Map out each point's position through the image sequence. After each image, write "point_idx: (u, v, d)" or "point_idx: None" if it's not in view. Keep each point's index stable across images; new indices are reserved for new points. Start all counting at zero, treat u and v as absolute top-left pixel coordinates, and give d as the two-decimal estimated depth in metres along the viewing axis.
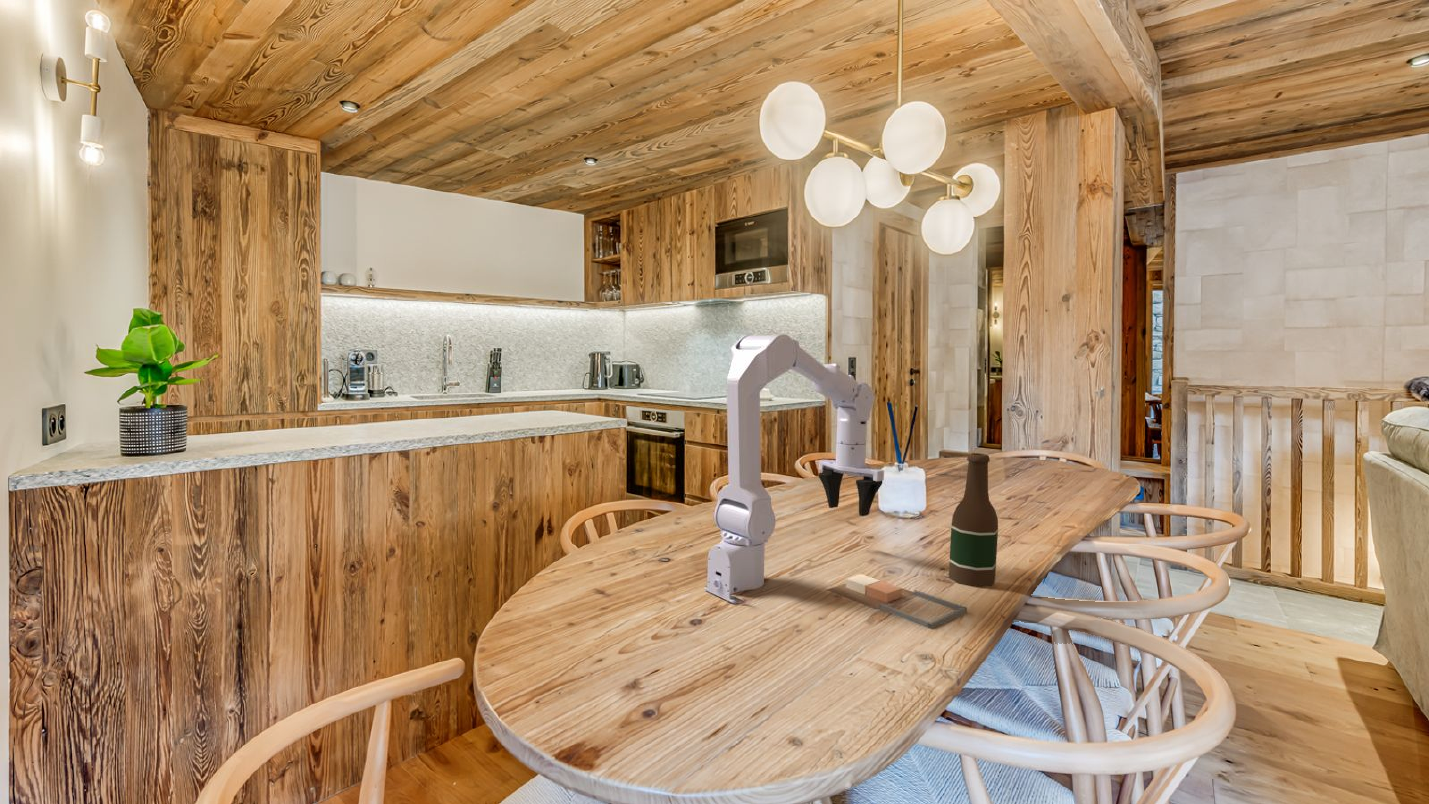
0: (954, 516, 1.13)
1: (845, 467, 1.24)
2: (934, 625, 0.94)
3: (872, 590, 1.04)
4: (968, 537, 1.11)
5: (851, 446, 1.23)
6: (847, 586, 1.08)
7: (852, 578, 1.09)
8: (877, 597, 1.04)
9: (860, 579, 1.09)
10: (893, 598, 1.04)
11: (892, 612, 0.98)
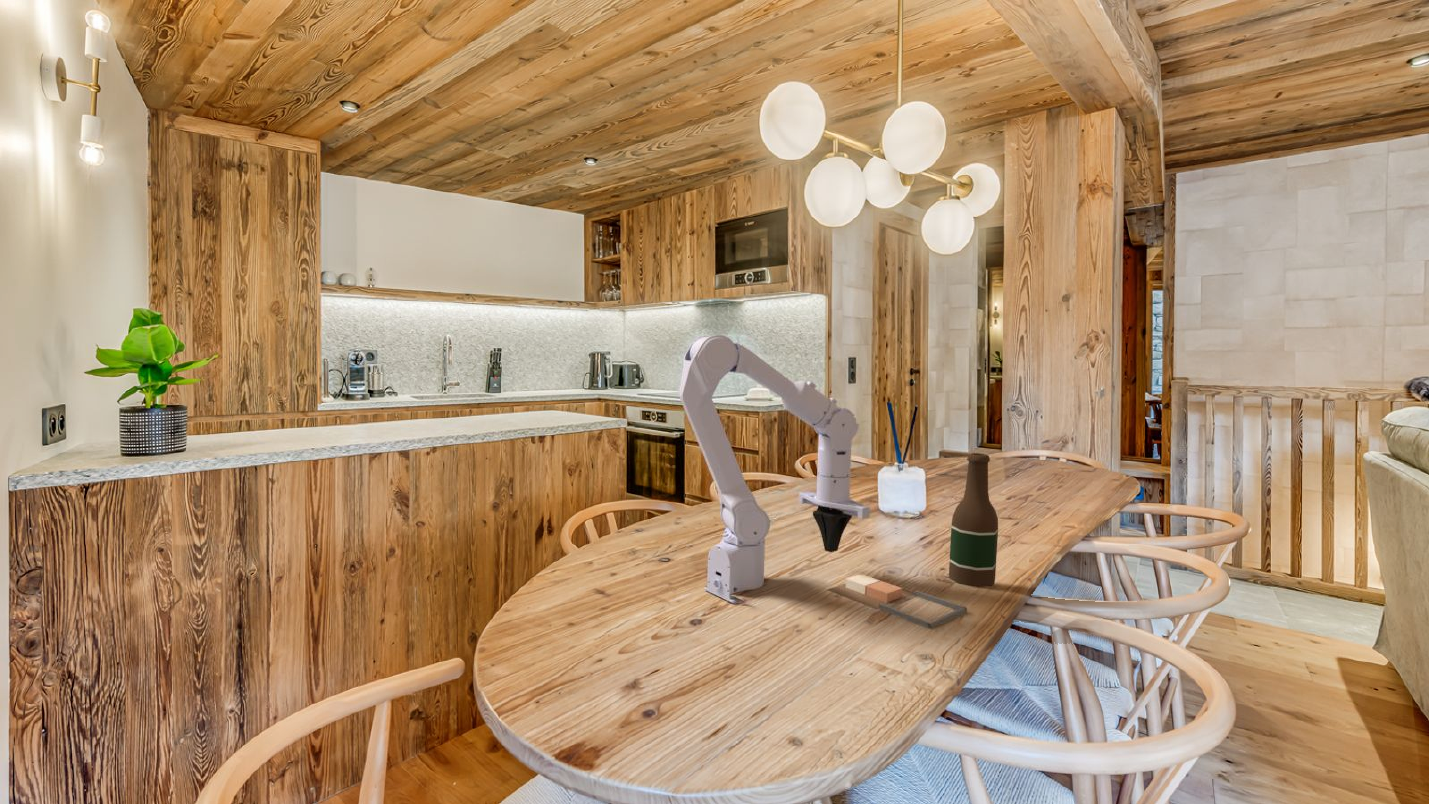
0: (954, 516, 1.13)
1: (827, 502, 1.10)
2: (934, 625, 0.94)
3: (872, 590, 1.04)
4: (968, 537, 1.11)
5: (833, 479, 1.10)
6: (847, 586, 1.08)
7: (852, 578, 1.09)
8: (877, 597, 1.04)
9: (860, 579, 1.09)
10: (893, 598, 1.04)
11: (892, 612, 0.98)
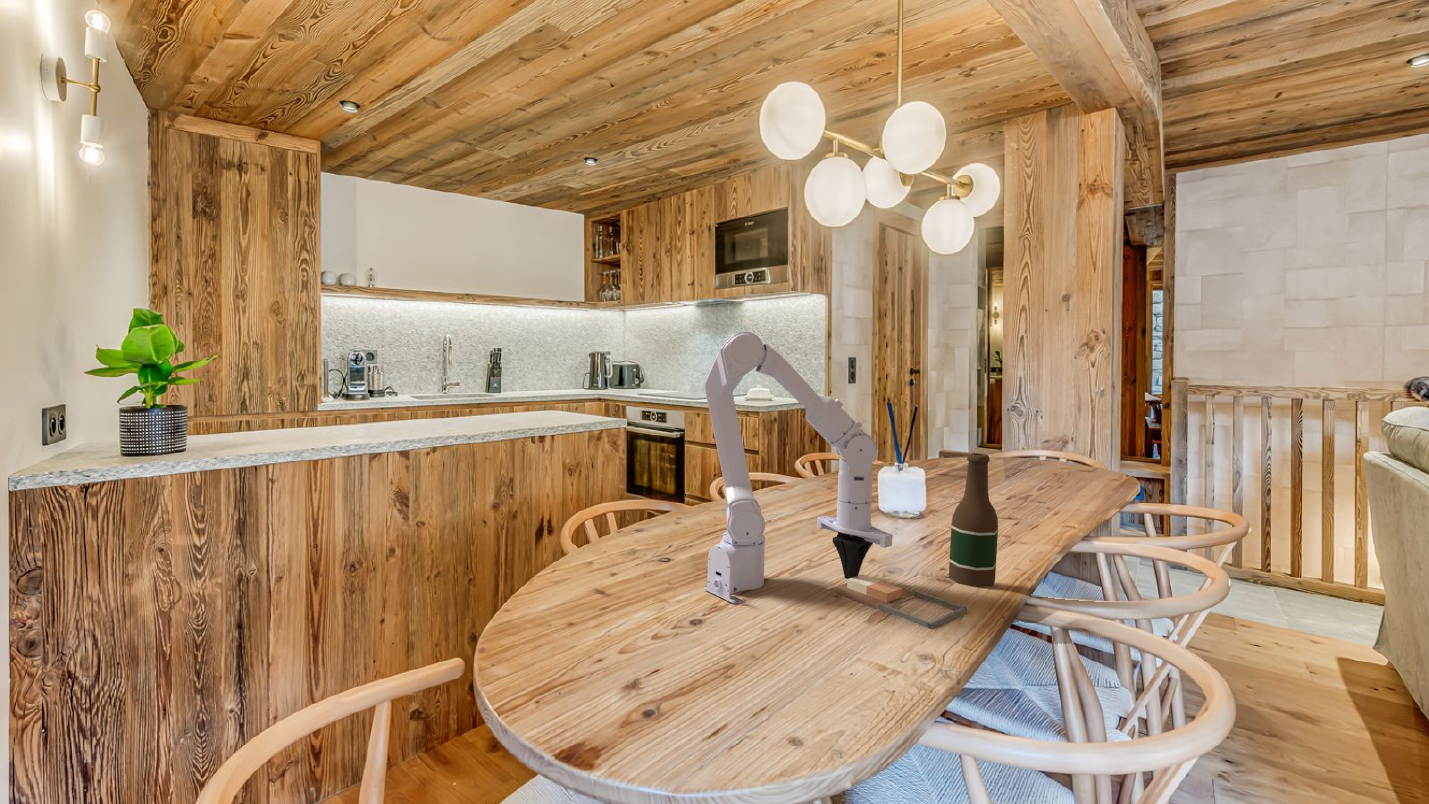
0: (954, 516, 1.13)
1: (847, 529, 1.07)
2: (934, 625, 0.94)
3: (872, 590, 1.04)
4: (968, 537, 1.11)
5: (854, 505, 1.07)
6: (848, 586, 1.08)
7: (853, 578, 1.09)
8: (877, 597, 1.04)
9: (861, 579, 1.08)
10: (893, 598, 1.04)
11: (892, 612, 0.98)
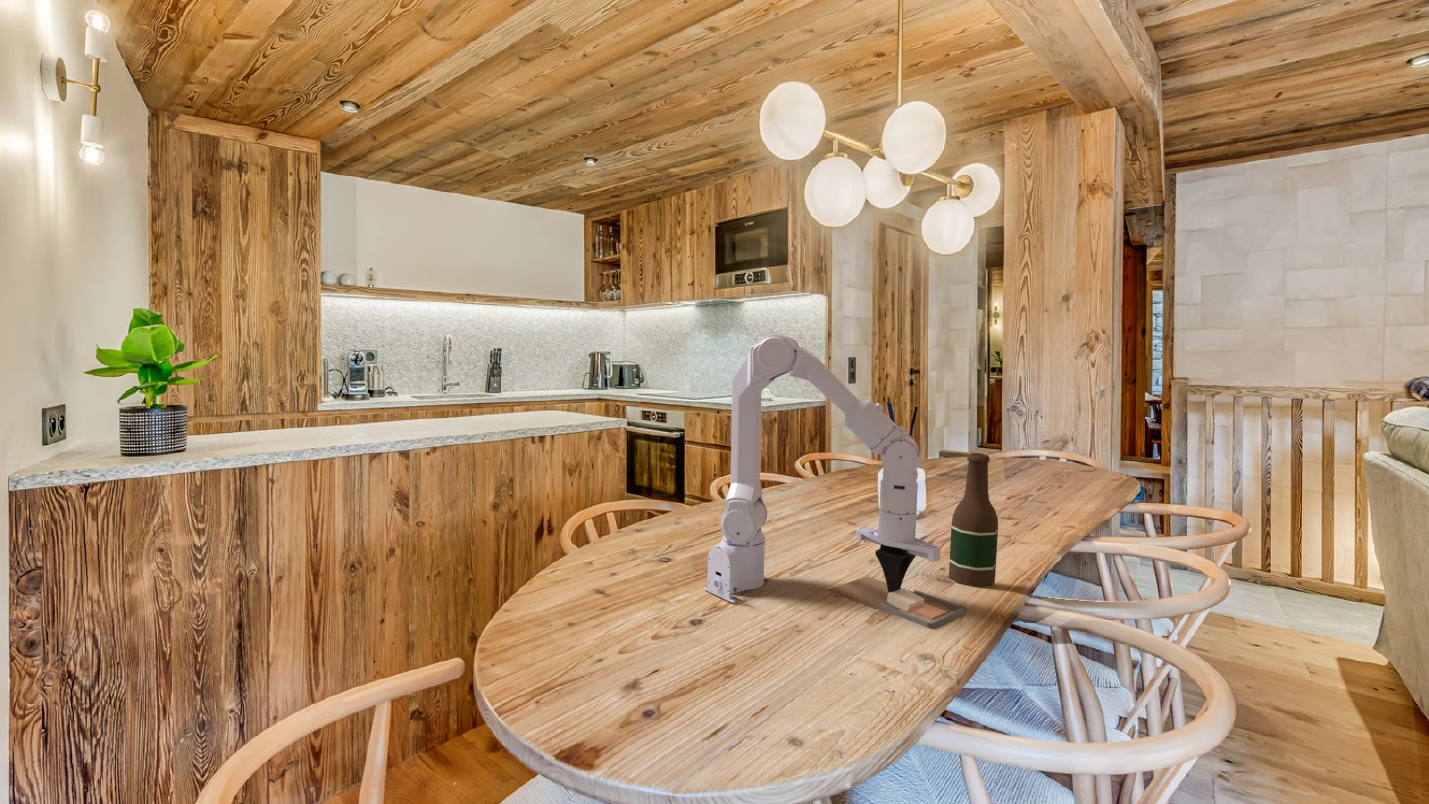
0: (954, 516, 1.13)
1: (891, 542, 1.00)
2: (934, 625, 0.94)
3: (915, 613, 0.98)
4: (968, 537, 1.11)
5: (899, 516, 1.00)
6: (888, 601, 1.02)
7: (894, 593, 1.02)
8: None
9: (902, 595, 1.02)
10: None
11: (892, 612, 0.98)
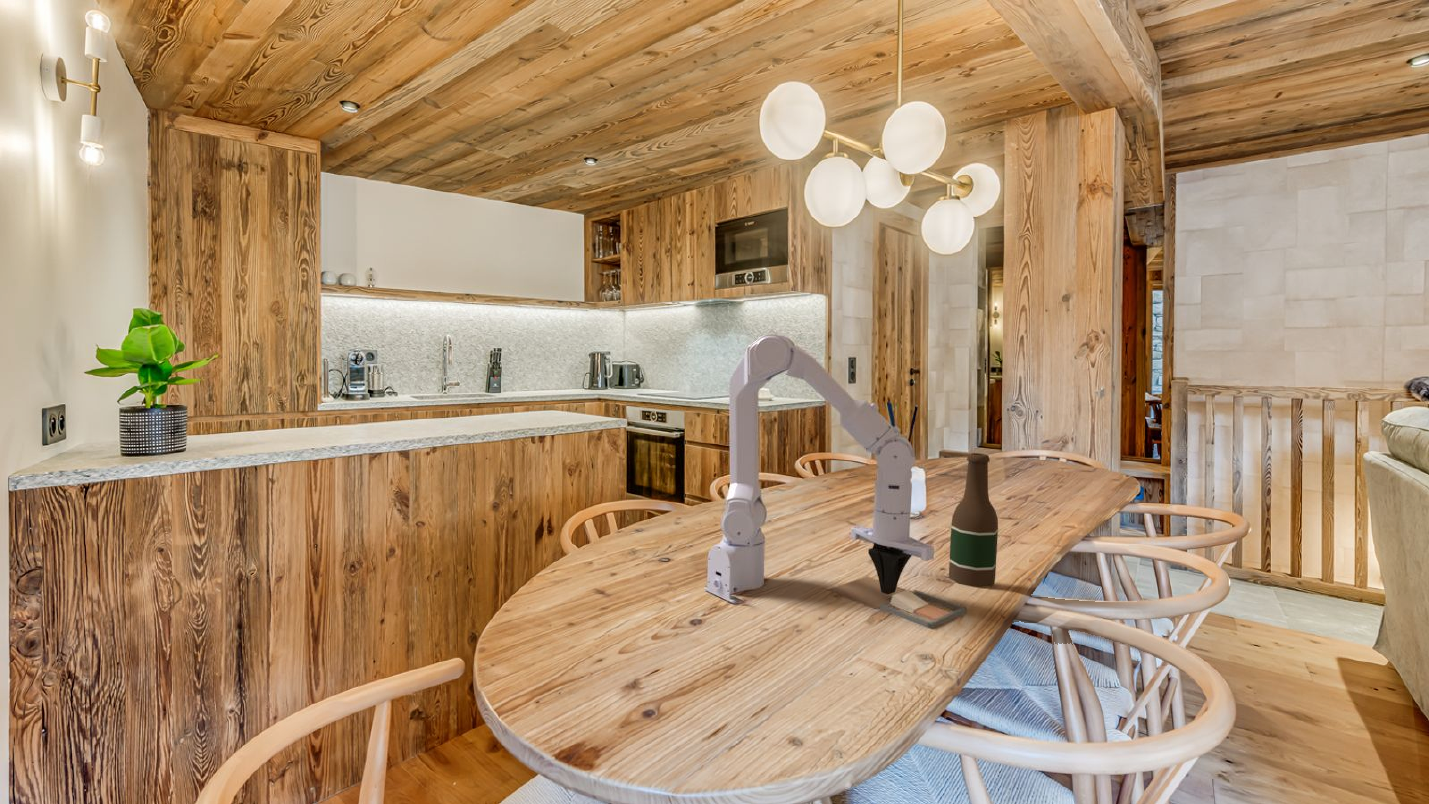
0: (954, 516, 1.13)
1: (885, 541, 1.01)
2: (934, 625, 0.94)
3: None
4: (967, 537, 1.11)
5: (893, 516, 1.01)
6: (892, 603, 1.01)
7: (899, 596, 1.01)
8: None
9: (907, 598, 1.01)
10: None
11: (892, 612, 0.98)
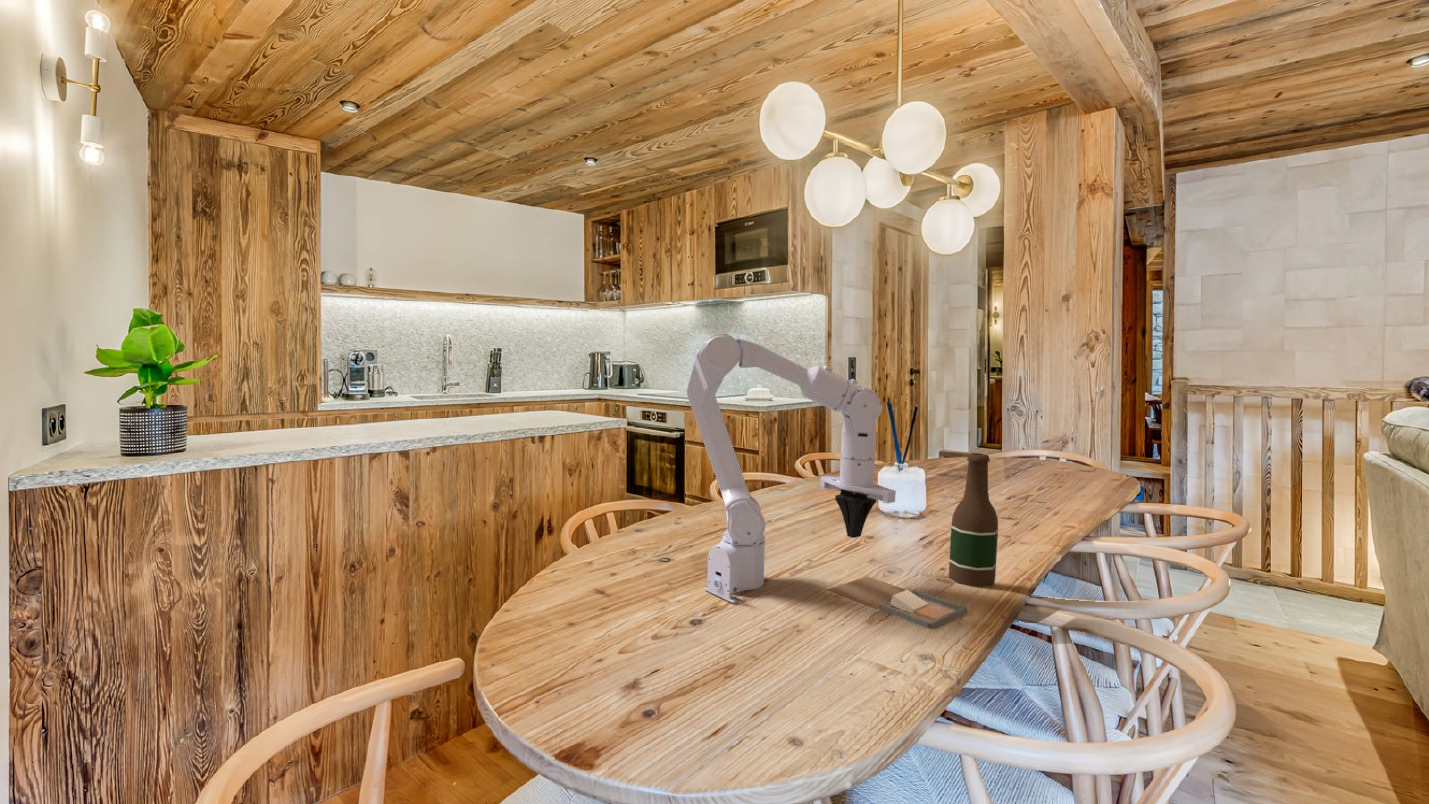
0: (954, 516, 1.13)
1: (850, 486, 1.07)
2: (934, 625, 0.94)
3: None
4: (968, 537, 1.11)
5: (857, 462, 1.06)
6: (892, 603, 1.01)
7: (899, 596, 1.01)
8: None
9: (907, 598, 1.01)
10: None
11: (892, 612, 0.98)
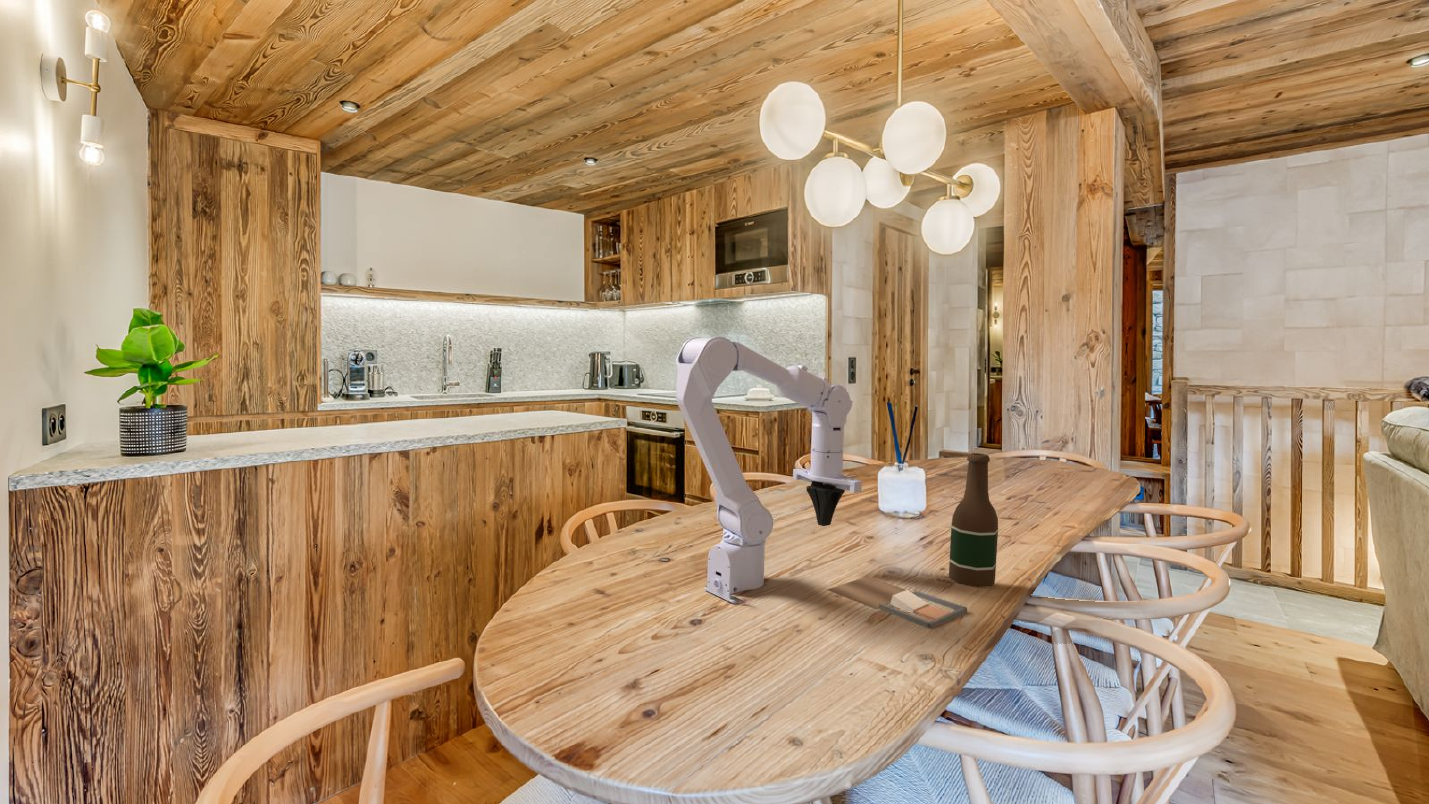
0: (954, 516, 1.13)
1: (820, 477, 1.13)
2: (934, 625, 0.94)
3: None
4: (968, 537, 1.11)
5: (826, 454, 1.13)
6: (892, 603, 1.01)
7: (899, 596, 1.01)
8: None
9: (907, 598, 1.01)
10: None
11: (892, 612, 0.98)
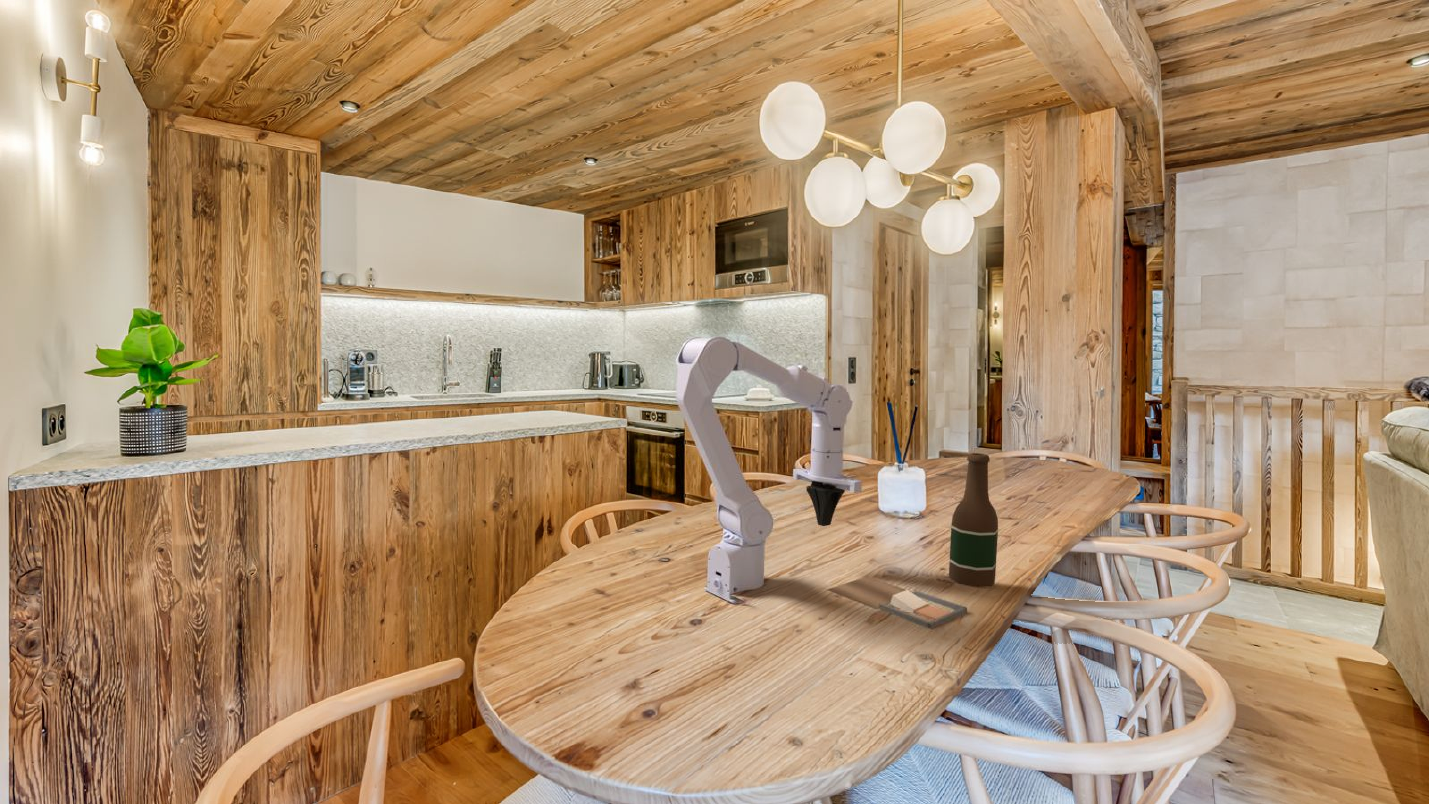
0: (954, 516, 1.13)
1: (820, 477, 1.13)
2: (934, 625, 0.94)
3: None
4: (968, 537, 1.11)
5: (826, 454, 1.13)
6: (892, 603, 1.01)
7: (899, 596, 1.01)
8: None
9: (907, 598, 1.01)
10: None
11: (892, 612, 0.98)
